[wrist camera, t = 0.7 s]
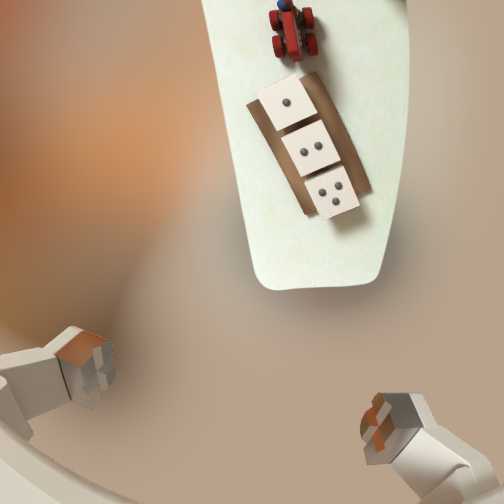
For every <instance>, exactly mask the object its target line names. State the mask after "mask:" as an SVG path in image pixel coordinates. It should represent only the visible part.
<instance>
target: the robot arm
mask: <svg viewBox="0 0 504 504" xmlns="http://www.w3.org/2000/svg"><path fill="white" fill-rule="evenodd" d="M113 352H114V351H113V345H112V343H111V342H110V341H109V340H106V339H104V338H102V337H99V336H97V335H94V334H92V333H89V332H87V331H84V330H82V329H80V328H77V327H75V326H70V327H68V328H67V329H66V330H65V331H63V332H62V333H61V334H60V335H58V336H57V337H56V338H55V339H53V340H52V341H51V342H50V343H49V344H47V345H46V346H45V347H44V348H43V349H41V348H39V347H38V348H33V349H28V350H24V351H19V352H13V353H8V354H4V355H0V504H142V503H139V502H137V501H134V500H132V499H129V498H127V497H124V496H122V495H120V494H117V493H115V492H113V491H111V490H108V489H106V488H104V487H102V486H100V485H98V484H96V483H94V482H92V481H90V480H88V479H86V478H84V477H83V476H81V475H79V474H77V473H75V472H74V471H72V470H70V469H69V468H67V467H65V466H63V465H62V464H60V463H59V462H57V461H55V460H54V459H52V458H51V457H49V456H48V455H46V454H45V453H43V452H42V451H40V450H39V449H37V448H36V447H35V446H33V445H32V444H31V443H29V442H28V441H29V440H30V439H31V438H32V436H33V430H32V429H31V427H30V425H29V423H28V422H27V420H29V419H32V418H34V417H36V416H39V415H41V414H43V413H45V412H48V411H50V410H52V409H55V408H57V407H60V406H62V405H64V404H66V403H69V402H70V400H71V401H73V402H75V403H77V404H79V405H82V406H84V407H86V408H88V409H90V410H93V409H94V407H95V406H96V404H97V403H98V402H99V401H100V399H101V398H102V394H101V391H103V390H106V389H109V387H110V386H111V385H112V383H113V381H114V378H115V373H116V365H115V362H114V360H113V359H112V357H111V356H110V355H111V354H112V353H113ZM372 405H373V407H372V408H370V409H369V410H367V411H366V412H365V414H364V416H363V418H362V420H361V424H360V434H361V438H362V439H363V440H364V441H365V442H366V443H367V444H366V446H365V447H364V453H365V458H366V463H367V465H376V464H390V465H391V466H392V467H393V469H394V470H395V471H396V472H397V473H398V474H399V475H400V476H401V477H402V479H403V480H404V481H405V482H406V483H407V484H408V485H409V487H410V488H411V489H412V490H413V491H414V492H415V493H416V494H417V495H418V496H419V498H420V499H421V500H420V501H419V502H418V503H416V504H504V484H502V485H500V484H499V482H498V479H497V477H496V475H495V473H494V471H493V468H492V466H491V464H490V462H489V460H488V458H487V457H485V456H484V455H482V454H481V453H479V452H478V451H477V450H475V449H474V448H472V447H471V446H469V445H468V444H467V443H465V442H463V441H462V440H461V439H459V438H458V437H457V436H455V435H453V434H452V433H451V432H450V431H448V430H447V429H445V428H444V427H442V426H437V424H436V422H435V420H434V417H433V415H432V414H431V411H430V409H429V407H428V405H427V403H426V401H425V399H424V398H423V396H422V394H421V393H419V392H408V393H378V394H377V395H376V396H374V398H373V400H372Z"/></svg>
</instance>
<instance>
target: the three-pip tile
mask: <svg viewBox="0 0 504 504" xmlns="http://www.w3.org/2000/svg"><path fill="white" fill-rule="evenodd" d="M304 184H305V186H306V188H307V190H308V192H309V194H310V196H311V198H312V200H313V202H314V205H315V207H316V209H317V211H318V213H319V215H320V217H321V220H325V219H327V218H330V217H332V216H335V215H337V214H340V213H342V212H345V211H347V210H350V209H352V208H355V207H358V206H360V204H359V202H358V199H357V197H356V194H355V192H354V189H353V187H352V185H351V182H350V180H349V178H348V175H347V173H346V171H345V168H344V166H343V165H342V164H341V165H338V166H336V167H334V168H331V169H329V170H326V171H324V172H322V173H319V174H317V175H315V176H312V177H310V178H308V179H305V183H304Z"/></svg>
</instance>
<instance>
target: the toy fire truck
mask: <svg viewBox="0 0 504 504" xmlns="http://www.w3.org/2000/svg"><path fill="white" fill-rule="evenodd" d="M277 6H278V8H279V10H272V11H270V12H269V18H270V23H271V27H272V29H273V31H281V30H282V23H283V27H284V32H285V38H286V43H284V41H283V38H282V36H281V35H276V36H273V37H272V43H273V49H274V53H275V56H276V57H277V58H281V57H285V55H286V53H285V49H287V51H288V55H289V57H290V58H292V60H293V61H294V62H297V61H302V60H303V55H302V47H308V53H309V55H310V56H313V55H318V47H317V40H316V36H315V33H306V41H307V42H301V37H300V31H299V29H298V26H297V24H298V25H305V28H306V29H312V28H314V27H315V26H314V19H313V14H312V9H311V8H310V7H307V8H302V12H300V11H299V10H298V9H297V8H296V7H295V6H294V5H293V1H292V0H278V2H277Z"/></svg>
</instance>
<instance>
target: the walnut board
mask: <svg viewBox="0 0 504 504" xmlns="http://www.w3.org/2000/svg"><path fill="white" fill-rule="evenodd" d="M299 80H300V82H301V84H302V85H303V87H304V89H305V91H306V92H307V94H308V96H309V98H310V100H311V102H312V103H313V105H314V107H315V109H316V111H317V113H316V114H314V115H311V116H309V117H307V118H305V119H302V120H300V121H298V122H296V123H294V124H292V125H289V126H287V127H285V128H283V129H281V130H279V131H277V130H276V128H275V127H274V125H273V123H272V121H271V119H270V118H269V116H268V114H267V112H266V111H265V109H264V107H263V105H262V104H261V102H260V100H259V99H257V100H255V101H253V102H251V103H249V104H248V105H246V106H247V108H248V109H249V111H250V113H251V115H252V116H253V118H254V120H255V121H256V123H257V125H258V127H259V129H260V130H261V132H262V134H263V136H264V137H265V139H266V141H267V143H268V145H269V147H270V148H271V150H272V152H273V154H274V156H275V158H276V159H277V161H278V163H279V165H280V167H281V169H282V171H283V173H284V175H285V176H286V178H287V180H288V182H289V184H290V186H291V188H292V190H293V192H294V194H295V196H296V198H297V200H298V202H299V204H300V206H301V208H302V210H303V212H304V214H305V215H306V214H309V213H311V212H314V211H316V210H317V209H316V207H315V205H314V202H313V200H312V198H311V196H310V194H309V192H308V190H307V188H306V186H305V184H304V183H305V179H308V178H310V177H312V176H315V175H317V174H319V173H322V172H324V171H326V170H329V169H331V168H334V167H336V166H338V165H341V164H342V165H343V166H344V168H345V171H346V173H347V175H348V178H349V180H350V182H351V185H352V187H353V189H354V192H355V194H359V193H361V192H364V191H366V190H369V189H371V186H370V184H369V181H368V179H367V176H366V174H365V171H364V169H363V167H362V164H361V162H360V159H359V157H358V155H357V152H356V150H355V148H354V146H353V144H352V141H351V139H350V137H349V135H348V133H347V131H346V128H345V126H344V124H343V122H342V120H341V118H340V116H339V114H338V112H337V110H336V108H335V106H334V104H333V103H332V101H331V99H330V97H329V95H328V93H327V91H326V89H325V88H324V86H323V84H322V82H321V81H320V79H319V77H318V75H317V74H316V72H314V73H311V74H309V75H307V76H304V77H302V78H300V79H299ZM318 120H322V122H323V124H324V126H325V128H326V130H327V132H328V134H329V136H330V138H331V140H332V142H333V145H334V147H335V149H336V151H337V153H338V155H339V157H340V161H337V162H335V163H332V164H330V165H328V166H325V167H323V168H321V169H318V170H316V171H314V172H311V173H309V174H307V175H304V176H302V177H301V176H300V174H299V172H298V170H297V168H296V166H295V164H294V162H293V160H292V158H291V156H290V154H289V153H288V151H287V149H286V147H285V145H284V143H283V141H282V139H281V138H282V137H283V136H285V135H288V134H290V133H292V132H294V131H296V130H298V129H300V128H303V127H305V126H307V125H309V124H312V123H314V122H316V121H318Z"/></svg>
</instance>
